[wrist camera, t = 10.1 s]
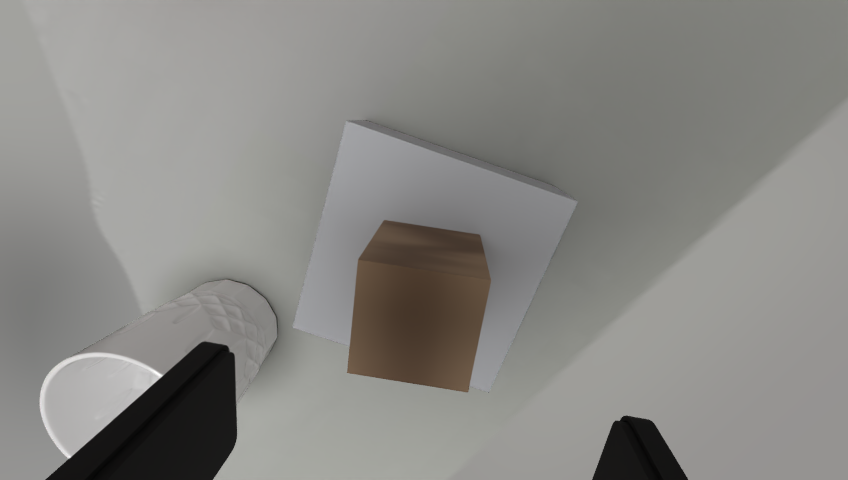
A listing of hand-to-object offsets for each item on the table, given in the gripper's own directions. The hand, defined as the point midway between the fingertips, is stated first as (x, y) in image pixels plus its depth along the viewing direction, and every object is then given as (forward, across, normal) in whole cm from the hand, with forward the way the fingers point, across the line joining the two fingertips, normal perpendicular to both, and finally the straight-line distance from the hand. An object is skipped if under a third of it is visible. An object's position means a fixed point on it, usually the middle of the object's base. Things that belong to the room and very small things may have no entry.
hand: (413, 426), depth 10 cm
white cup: (+16, +14, +9) cm, 23 cm away
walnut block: (+12, +1, +1) cm, 12 cm away
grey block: (+17, +1, +1) cm, 17 cm away
